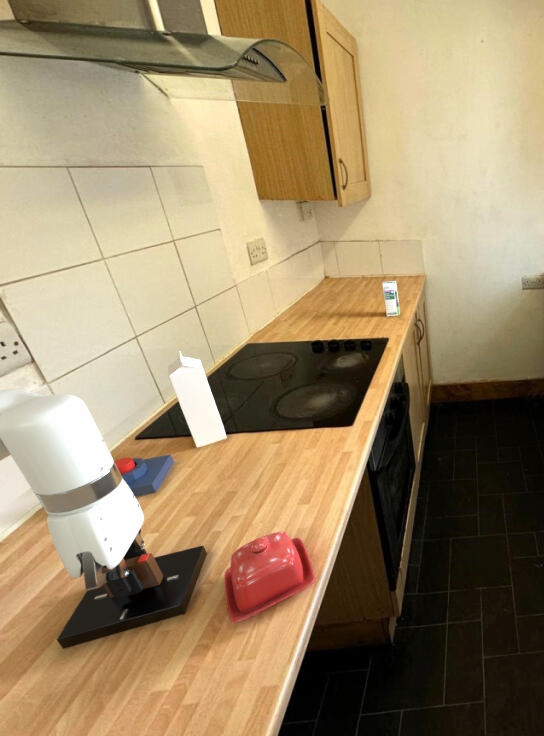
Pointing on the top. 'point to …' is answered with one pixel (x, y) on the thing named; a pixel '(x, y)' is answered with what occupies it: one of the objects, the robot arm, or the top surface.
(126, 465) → the button
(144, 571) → the dial knob
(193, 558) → the panel
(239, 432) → the top surface
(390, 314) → the syrup box
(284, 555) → the butter dish
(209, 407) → the milk
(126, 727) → the top surface
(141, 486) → the button box
